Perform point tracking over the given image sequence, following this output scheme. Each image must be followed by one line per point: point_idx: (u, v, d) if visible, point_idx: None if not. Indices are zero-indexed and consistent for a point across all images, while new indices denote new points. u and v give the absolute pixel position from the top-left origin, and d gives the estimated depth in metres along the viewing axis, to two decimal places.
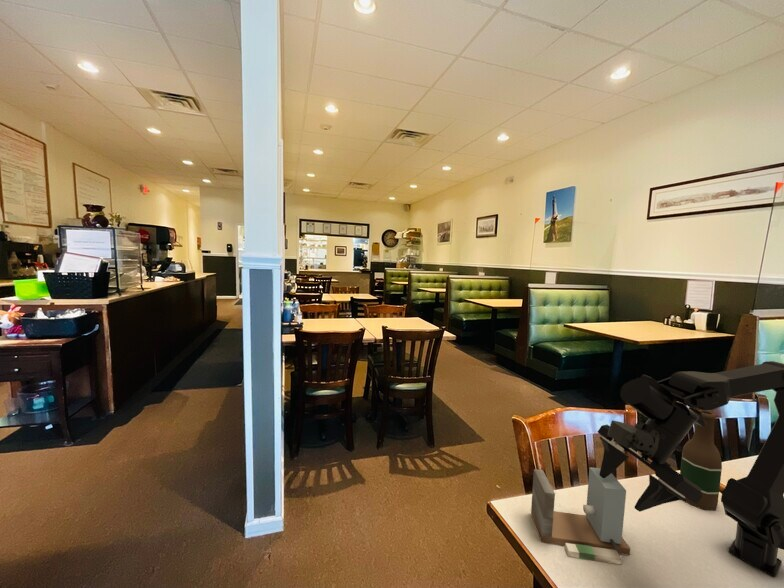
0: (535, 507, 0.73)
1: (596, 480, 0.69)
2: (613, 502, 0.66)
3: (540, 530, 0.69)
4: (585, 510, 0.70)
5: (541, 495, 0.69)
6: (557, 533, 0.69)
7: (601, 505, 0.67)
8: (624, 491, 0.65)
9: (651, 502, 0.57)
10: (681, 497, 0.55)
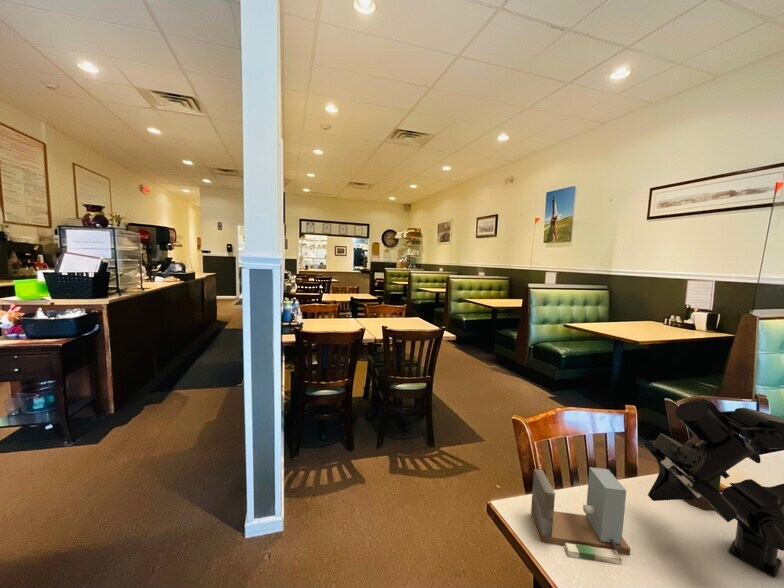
0: (535, 507, 0.73)
1: (596, 480, 0.69)
2: (613, 502, 0.66)
3: (540, 530, 0.69)
4: (585, 510, 0.70)
5: (541, 495, 0.69)
6: (557, 533, 0.69)
7: (601, 505, 0.67)
8: (624, 491, 0.65)
9: (666, 495, 0.66)
10: (695, 496, 0.63)
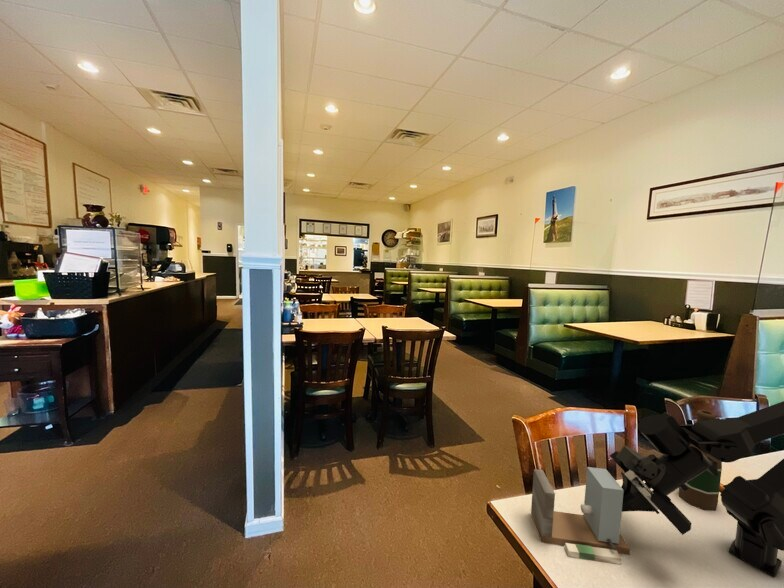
0: (535, 507, 0.73)
1: (594, 480, 0.69)
2: (611, 501, 0.66)
3: (540, 530, 0.69)
4: (583, 510, 0.70)
5: (541, 495, 0.69)
6: (557, 533, 0.69)
7: (599, 504, 0.67)
8: (621, 491, 0.65)
9: (627, 506, 0.67)
10: (654, 508, 0.64)
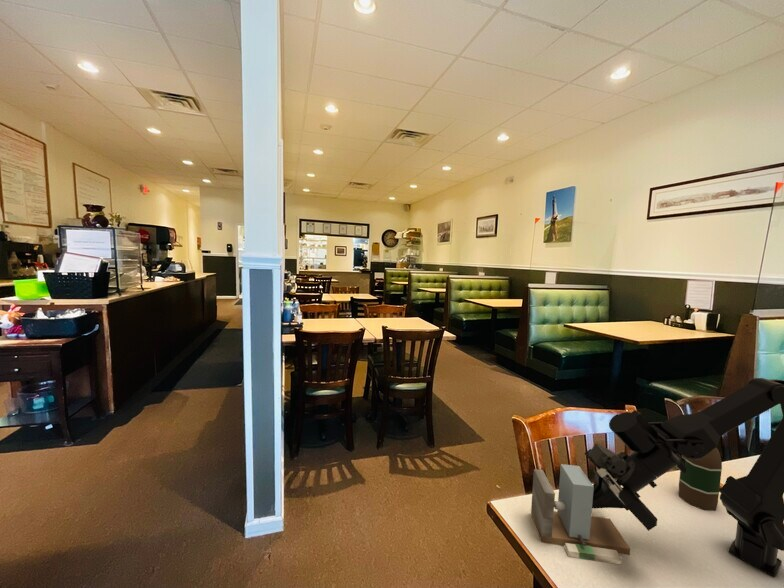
0: (535, 507, 0.73)
1: (566, 476, 0.70)
2: (581, 498, 0.67)
3: (540, 530, 0.69)
4: (555, 506, 0.71)
5: (541, 495, 0.69)
6: (557, 533, 0.69)
7: (570, 501, 0.68)
8: (592, 487, 0.66)
9: (598, 503, 0.68)
10: (624, 504, 0.65)
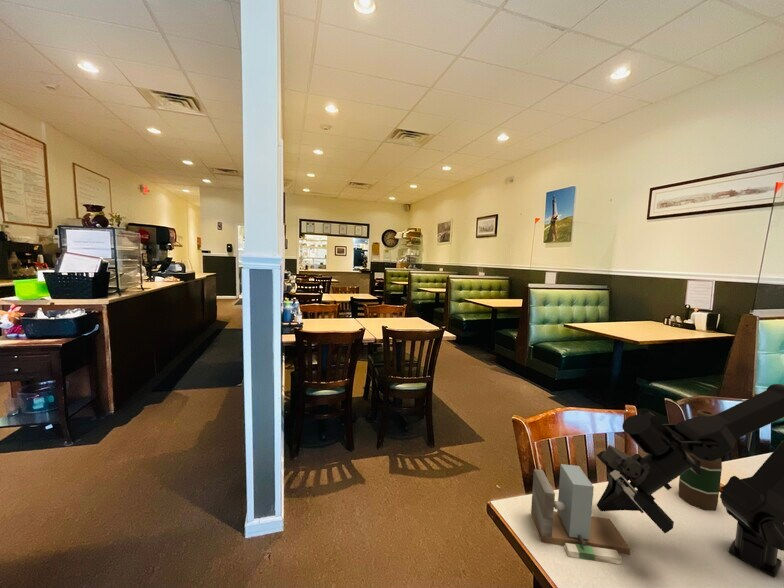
0: (535, 507, 0.73)
1: (566, 476, 0.70)
2: (581, 498, 0.67)
3: (540, 530, 0.69)
4: (555, 506, 0.71)
5: (541, 495, 0.69)
6: (557, 533, 0.69)
7: (570, 501, 0.68)
8: (591, 487, 0.66)
9: (612, 506, 0.68)
10: (638, 507, 0.65)
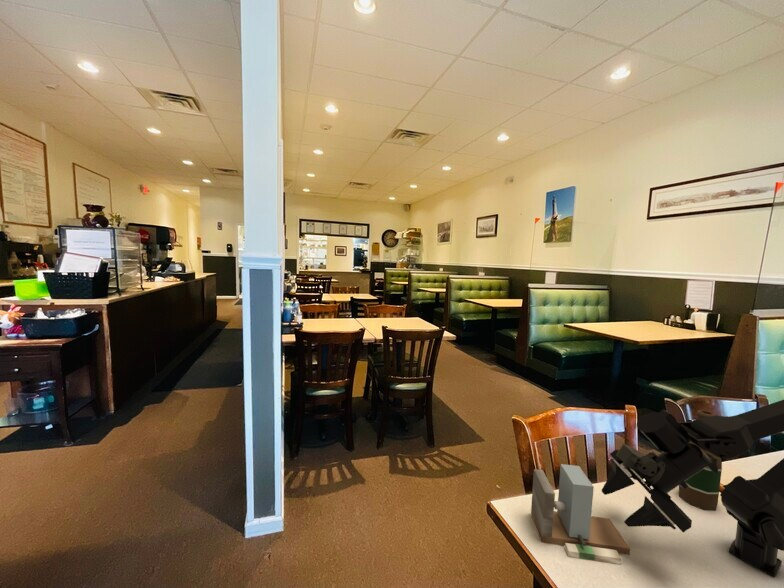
0: (535, 507, 0.73)
1: (566, 476, 0.70)
2: (581, 498, 0.67)
3: (540, 530, 0.69)
4: (555, 506, 0.71)
5: (541, 495, 0.69)
6: (557, 533, 0.69)
7: (570, 501, 0.68)
8: (591, 487, 0.66)
9: (641, 521, 0.63)
10: (670, 523, 0.60)
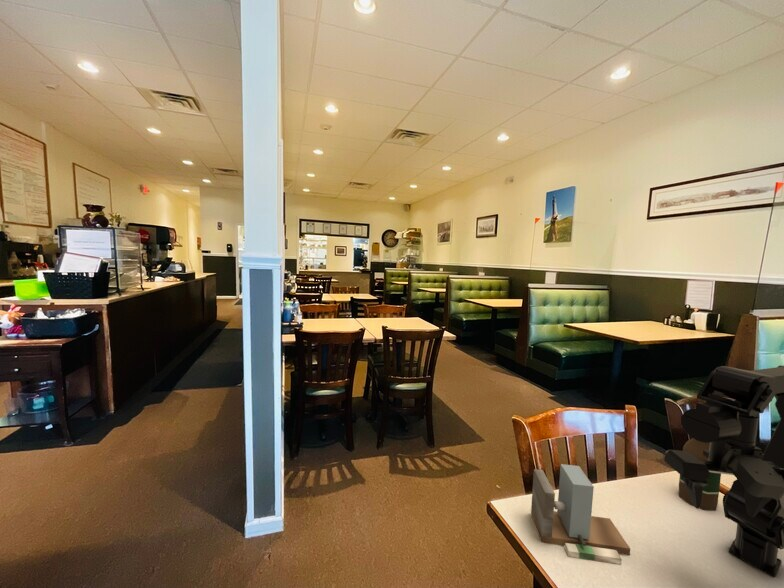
0: (535, 507, 0.73)
1: (566, 476, 0.70)
2: (581, 498, 0.67)
3: (540, 530, 0.69)
4: (555, 506, 0.71)
5: (541, 495, 0.69)
6: (557, 533, 0.69)
7: (570, 501, 0.68)
8: (591, 487, 0.66)
9: None
10: None
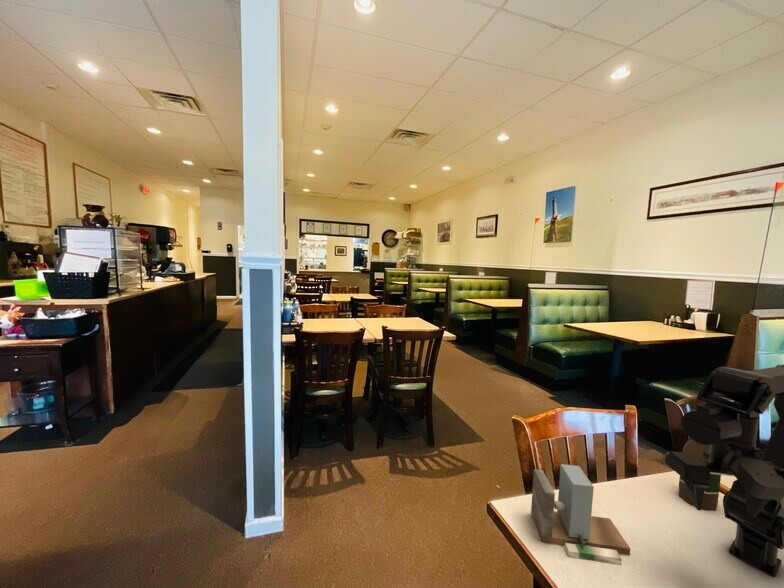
0: (535, 507, 0.73)
1: (566, 476, 0.70)
2: (581, 498, 0.67)
3: (540, 530, 0.69)
4: (555, 506, 0.71)
5: (541, 495, 0.69)
6: (557, 533, 0.69)
7: (570, 501, 0.68)
8: (591, 487, 0.66)
9: None
10: None
